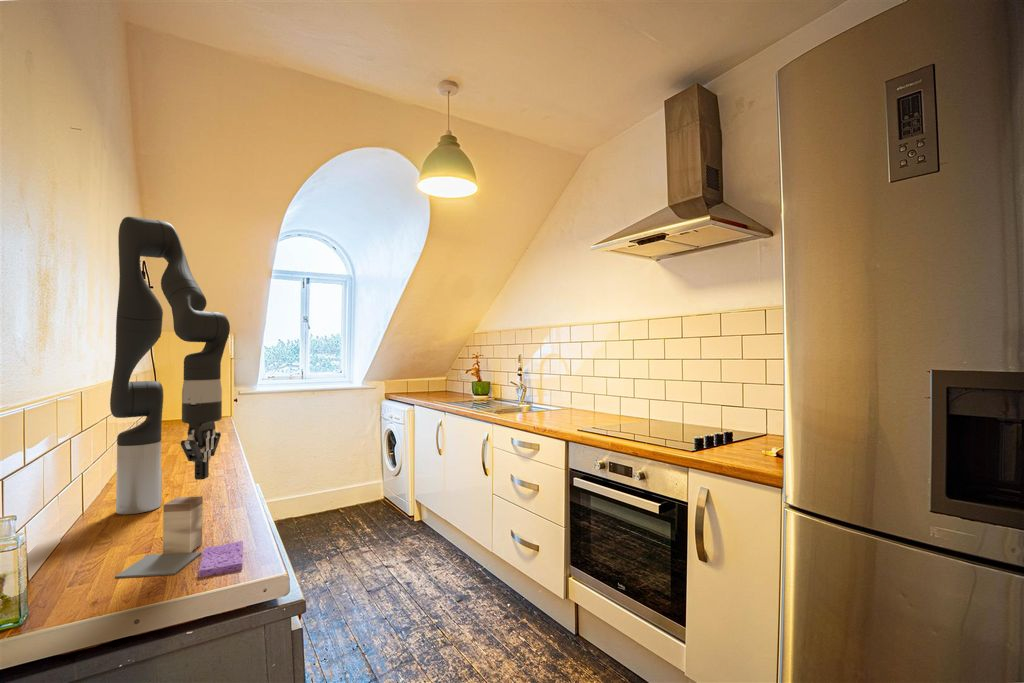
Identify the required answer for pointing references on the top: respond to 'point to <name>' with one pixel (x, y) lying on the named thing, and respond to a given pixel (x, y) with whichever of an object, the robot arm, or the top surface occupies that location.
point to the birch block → (182, 524)
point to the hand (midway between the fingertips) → (201, 478)
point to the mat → (159, 565)
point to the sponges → (221, 559)
